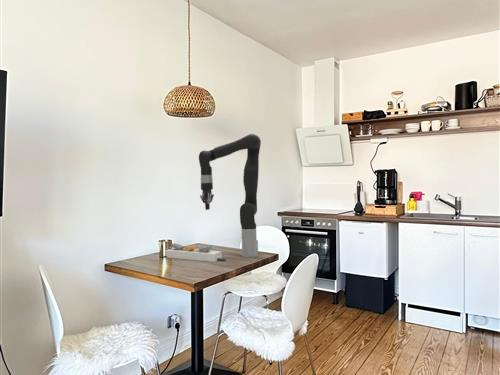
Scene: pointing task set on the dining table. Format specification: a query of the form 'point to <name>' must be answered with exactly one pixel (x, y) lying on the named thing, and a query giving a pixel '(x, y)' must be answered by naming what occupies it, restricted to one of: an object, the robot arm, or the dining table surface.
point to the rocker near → (205, 248)
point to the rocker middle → (190, 247)
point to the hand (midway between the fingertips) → (207, 209)
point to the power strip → (194, 254)
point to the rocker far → (177, 246)
